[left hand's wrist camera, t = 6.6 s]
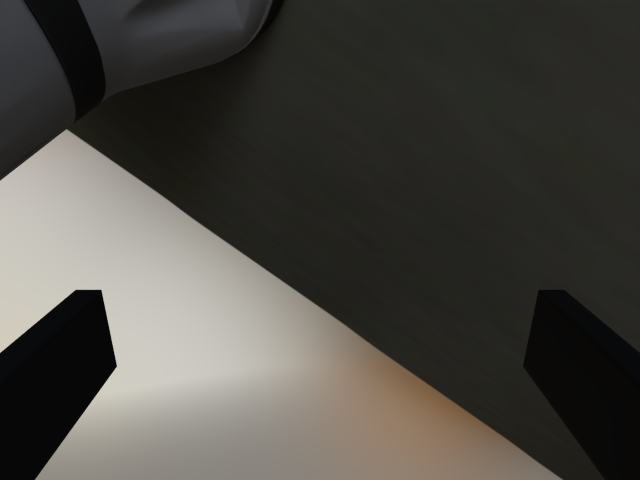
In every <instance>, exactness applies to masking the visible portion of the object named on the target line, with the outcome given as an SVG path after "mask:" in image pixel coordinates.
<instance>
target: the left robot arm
mask: <svg viewBox="0 0 640 480" xmlns="http://www.w3.org/2000/svg"><path fill="white" fill-rule="evenodd" d="M282 1H283V0H0V180H1V179H3V178H4V177H5V176H7V175H8V174H9V173H10V172H12V171H13V170H14V169H16V168H17V167H18V166H19V165H21V164H22V163H23V162H25V161H26V160H27V159H28V158H30V157H31V156H32V155H34V154H35V153H36V152H37V151H39V150H40V149H41V148H43V147H44V146H45V145H46V144H48V143H49V142H50V141H52V140H53V139H54V138H55V137H57V136H58V135H59V134H61V133H62V132H63V131H65V130H66V129H67V128H69V127H70V126H71V125H72V124H73V123H75V122H76V121H77V120H79V119H80V118H81V117H83V116H84V115H85V114H87V113H88V112H89V111H91V110H92V109H93V108H94V107H96V106H97V105H98V104H100V103H101V102H103V101H104V100H106V99H107V98H108V97H110V96H111V95H113V94H115V93H117V92H120V91H124V90H127V89H131V88H134V87H137V86H141V85H144V84H148V83H151V82H154V81H158V80H161V79H165V78H168V77H171V76H175V75H178V74H182V73H185V72H189V71H192V70H195V69H199V68H202V67H206V66H209V65H212V64H216V63H219V62H221V61H223V60H225V59H227V58H228V57H230V56H232V55H234V54H236V53H238V52H239V51H241V50H242V49H243V48H245V47H246V46H247V45H248V44H250V43H251V42H252V41H253V40H254V39H255V38H257V37H258V36H259V35H260V34H261V33H262V32H263V31H264V30H265V29H266V28H267V27H268V26H269V25H270V23H271V22H272V20H273V19H274V18H275V16H276V14H277V12H278V10H279V8H280V6H281V4H282ZM116 367H117V365H116V360H115V355H114V350H113V345H112V340H111V335H110V330H109V325H108V320H107V316H106V310H105V305H104V301H103V296H102V291H101V290H75V291H74V292H73V293H72V294H70V295H69V296H68V297H67V298H66V299H64V300H63V301H62V302H61V303H60V304H58V305H57V306H56V307H55V308H54V309H52V310H51V311H50V312H49V313H48V314H46V315H45V316H44V317H43V318H42V319H40V320H39V321H38V322H37V323H36V324H34V325H33V326H32V327H31V328H30V329H28V330H27V331H26V332H25V333H24V334H22V335H21V336H20V337H19V338H18V339H16V340H15V341H14V342H13V343H12V344H10V345H9V346H8V347H7V348H6V349H4V350H3V351H2V352H1V353H0V480H35V479H36V477H37V476H38V475H39V473H40V472H41V470H42V469H43V468H44V466H45V465H46V464H47V462H48V461H49V459H50V458H51V457H52V455H53V454H54V453H55V451H56V450H57V448H58V447H59V446H60V444H61V443H62V441H63V440H64V439H65V437H66V436H67V435H68V433H69V432H70V430H71V429H72V428H73V426H74V425H75V423H76V422H77V421H78V419H79V418H80V417H81V415H82V414H83V412H84V411H85V410H86V408H87V407H88V406H89V404H90V403H91V401H92V400H93V399H94V397H95V396H96V395H97V393H98V392H99V390H100V389H101V388H102V386H103V385H104V383H105V382H106V381H107V379H108V378H109V377H110V375H111V374H112V372H113V371H114V370H115V368H116ZM523 367H524V368H525V370H526V371H527V372H528V374H529V375H530V377H531V378H532V379H533V381H534V382H535V384H536V385H537V386H538V388H539V389H540V390H541V392H542V393H543V395H544V396H545V397H546V399H547V400H548V401H549V403H550V404H551V406H552V407H553V408H554V410H555V411H556V413H557V414H558V415H559V417H560V418H561V419H562V421H563V422H564V424H565V425H566V426H567V428H568V429H569V430H570V432H571V433H572V435H573V436H574V437H575V439H576V440H577V441H578V443H579V444H580V446H581V447H582V448H583V450H584V451H585V453H586V454H587V455H588V457H589V458H590V459H591V461H592V462H593V464H594V465H595V466H596V468H597V469H598V470H599V472H600V473H601V475H602V476H603V477H604V479H605V480H640V353H639V352H638V351H637V350H636V349H634V348H633V347H632V346H631V345H630V344H628V343H627V342H626V341H625V340H624V339H622V338H621V337H620V336H619V335H618V334H616V333H615V332H614V331H613V330H612V329H610V328H609V327H608V326H607V325H606V324H604V323H603V322H602V321H601V320H600V319H598V318H597V317H596V316H595V315H594V314H592V313H591V312H590V311H589V310H588V309H586V308H585V307H584V306H583V305H582V304H580V303H579V302H578V301H577V300H576V299H574V298H573V297H572V296H571V295H570V294H568V293H567V292H566V291H565V290H539V291H538V296H537V301H536V305H535V310H534V315H533V320H532V325H531V330H530V335H529V340H528V345H527V350H526V355H525V359H524V364H523Z"/></svg>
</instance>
